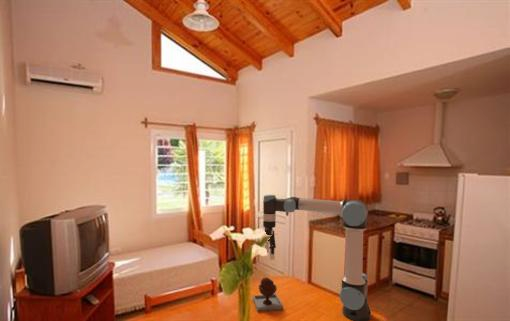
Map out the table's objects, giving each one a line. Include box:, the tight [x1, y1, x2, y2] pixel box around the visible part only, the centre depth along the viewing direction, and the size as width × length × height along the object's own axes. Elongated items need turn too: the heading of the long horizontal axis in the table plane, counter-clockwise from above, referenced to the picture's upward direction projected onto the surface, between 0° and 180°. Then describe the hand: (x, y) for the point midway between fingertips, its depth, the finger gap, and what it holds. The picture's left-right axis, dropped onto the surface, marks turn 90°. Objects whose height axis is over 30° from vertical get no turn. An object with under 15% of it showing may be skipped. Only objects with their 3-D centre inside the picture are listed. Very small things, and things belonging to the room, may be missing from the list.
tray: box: [252, 293, 284, 313], centre depth 163 cm, size 15×15×2 cm
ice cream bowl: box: [258, 277, 278, 305], centre depth 164 cm, size 11×11×15 cm
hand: (269, 255), depth 165 cm, fingers open, 13 cm apart
